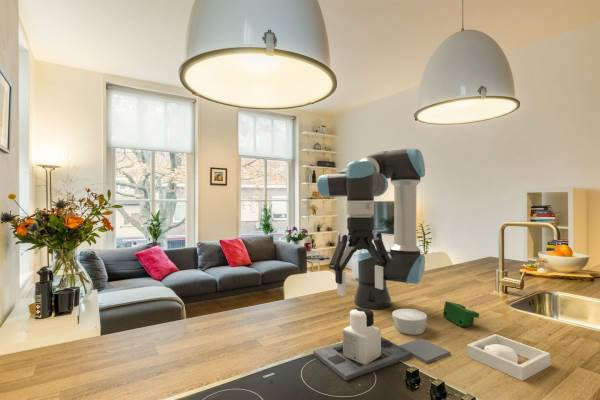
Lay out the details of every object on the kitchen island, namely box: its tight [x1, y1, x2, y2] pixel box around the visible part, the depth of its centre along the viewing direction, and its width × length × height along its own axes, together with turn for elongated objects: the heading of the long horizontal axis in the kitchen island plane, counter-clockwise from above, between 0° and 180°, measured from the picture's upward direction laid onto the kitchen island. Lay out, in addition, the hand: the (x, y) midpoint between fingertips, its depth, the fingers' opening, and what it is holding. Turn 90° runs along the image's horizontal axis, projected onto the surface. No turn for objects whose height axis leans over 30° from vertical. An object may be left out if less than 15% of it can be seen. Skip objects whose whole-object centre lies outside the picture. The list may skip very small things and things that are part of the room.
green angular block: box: [442, 301, 480, 328], centre depth 112 cm, size 12×6×9 cm, turn 4°
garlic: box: [484, 344, 519, 364], centre depth 86 cm, size 8×7×4 cm
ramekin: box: [391, 308, 428, 336], centre depth 106 cm, size 11×11×5 cm
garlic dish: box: [466, 333, 551, 382], centre depth 85 cm, size 14×14×3 cm
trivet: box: [398, 338, 451, 364], centre depth 91 cm, size 10×10×1 cm
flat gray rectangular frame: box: [312, 336, 413, 382], centre depth 88 cm, size 15×23×1 cm, turn 119°
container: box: [342, 307, 382, 366], centre depth 88 cm, size 8×8×13 cm
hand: (361, 291), depth 88 cm, fingers open, 13 cm apart
